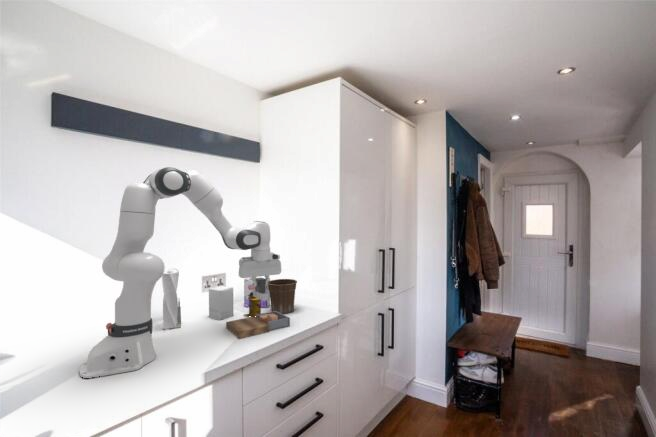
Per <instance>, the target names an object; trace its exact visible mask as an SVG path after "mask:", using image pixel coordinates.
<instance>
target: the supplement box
mask: <svg viewBox="0 0 656 437" xmlns="http://www.w3.org/2000/svg"><path fill="white" fill-rule="evenodd" d="M233 316H234V287H233V286H226V285H219V286H215V287H210V288H208V318H210V319H213V320H217V321H221V320H224V319H228V318H231V317H233Z"/></svg>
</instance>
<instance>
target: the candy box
mask: <svg viewBox="0 0 656 437" xmlns="http://www.w3.org/2000/svg"><path fill="white" fill-rule="evenodd" d="M256 278H262V276H259V277H256ZM263 278H264V279H265V278H266V277H263ZM243 279H244V282H243V283H244V285H243V286H244V287H243V288H244V291H243V293H244V294H243V295H244V298H243V299H244V302H243V303H244V304H243V305H244V308H249V298H250V293H251V292H253V290H255V286H254V282H253V281H252V279H251V277H249V278H243ZM268 281H271V277H269V279H268ZM268 281H267V282H268ZM266 293H268V300H265V301H262V300H261V309H262V308H263V309H267V308H269V307H271V301H270V292H269V288H268V284H267V285H266Z"/></svg>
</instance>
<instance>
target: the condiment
mask: <svg viewBox="0 0 656 437" xmlns="http://www.w3.org/2000/svg"><path fill="white" fill-rule="evenodd" d="M257 314H262V308H261V300H260V299H258V298H256V297H254V296H253V292H251V293H250V298H249V307H248V313H246V314H244V313H243V317H245V316H246V317H245V318H249V316H251V317H254V316H256V315H257Z"/></svg>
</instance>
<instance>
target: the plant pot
mask: <svg viewBox="0 0 656 437" xmlns="http://www.w3.org/2000/svg"><path fill="white" fill-rule="evenodd" d="M297 283H298V280H297V279H293V278H278V279H272V280H271V279H270V281H268V282H267V284H268V288H269V292H270V309H271V311H270V312H273V311H277V312H279V313H281V314H283V315H285V314H289V313H292V312H294V309H295V297H296V288H297Z"/></svg>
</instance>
